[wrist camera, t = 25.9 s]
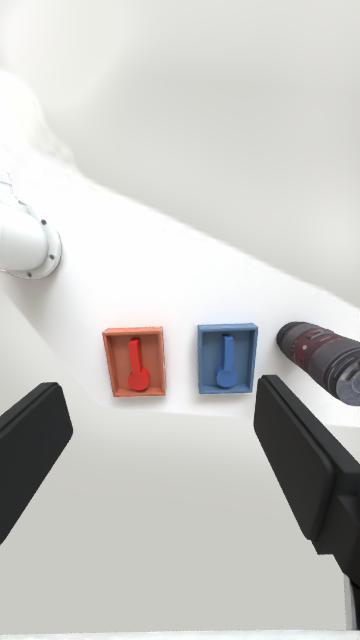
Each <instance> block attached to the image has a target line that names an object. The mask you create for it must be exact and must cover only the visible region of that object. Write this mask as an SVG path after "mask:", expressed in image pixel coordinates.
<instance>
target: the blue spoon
mask: <svg viewBox="0 0 360 640" xmlns="http://www.w3.org/2000/svg"><path fill="white" fill-rule="evenodd" d="M233 344H234V339H233V337H232V336H231V335H230V334H222V356H221V365H220V366H218V367H217V368H216V370H215V378H216V381H217V383H218V384H219V385H220V386H222V387H230V386H233V385H234V384H235V383H236V381H237V378H238V376H237V373H236V372H235V370H234V368H233V367H232V363H233Z"/></svg>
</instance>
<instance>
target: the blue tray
mask: <svg viewBox="0 0 360 640" xmlns="http://www.w3.org/2000/svg"><path fill="white" fill-rule="evenodd" d="M222 334H230V335H231V336H232V337H233V339H234V344H233V363H232V367H233V368H234V370H235V372H236V373H237V376H238V378H237V381H236V383H235V384H234V385H233V386H230V387H222V386H220V385H219V384H218V383H217V381H216V378H215V370H216V368H217V367H218V366H220V365H221V356H222ZM257 335H258V327H257V326H256V325H255V324H253V323H247V324H220V325H198V387H199V393H200V394H220V393H250V392H252V388H253V378H254V367H255V356H256V346H257Z"/></svg>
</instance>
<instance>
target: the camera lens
mask: <svg viewBox="0 0 360 640" xmlns="http://www.w3.org/2000/svg"><path fill="white" fill-rule="evenodd" d="M277 344H278V346H279V347H280V349H281V351H282V352H283V353H284V354H285V355H286V357H287V358H289V359H290V360H291V361H292V362H293V363H295V364H296V365H298V366H299V367H300V368H301V369H303V370H304V371H305V372H306V373H308V374H309V376H310V377H311V378H312V379H313V380H314V381H315V382H316V383H318V384H319V385H320V386H321V387H322V388H324V389H325V390H326V391H327V392H328V393H330V394H331V395H332V396H333V397H335V398H336V399H338V400H341V401H342V402H343V403H345V404H347V405H351V406H360V342H358V341H355V340H352V339H349V338H346V337H342V336H340V335H338V334H335V333H334V332H333V331H331V330H329V329H324V328H322V327H320V326H317V325H314V324H310V323H306V322H291V323H288V324H286V325H284V326H283V327H282V328H281V329H280V330H279V332H278V334H277Z"/></svg>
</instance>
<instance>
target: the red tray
mask: <svg viewBox="0 0 360 640" xmlns="http://www.w3.org/2000/svg"><path fill="white" fill-rule="evenodd" d="M102 334H103V340H104V346H105V351H106V357H107V363H108V369H109V374H110V380H111V386H112V391H113V397H130V396H160V395H166V376H165V362H164V348H163V333H162V327H139V328H112V329H106V330H105V331H104V332H103V333H102ZM132 338H140V346H141V355H142V364H143V368H145V369H146V370H148V372H149V373H150V380H149V384H148V386H147V387H146V388H145V389H143V390H134V389H132V388H131V387H130V386H129V384H128V377H129V375H130V373H131V371H132V367H131V360H130V353H129V345H128V343H129V341H130V340H131V339H132Z"/></svg>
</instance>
